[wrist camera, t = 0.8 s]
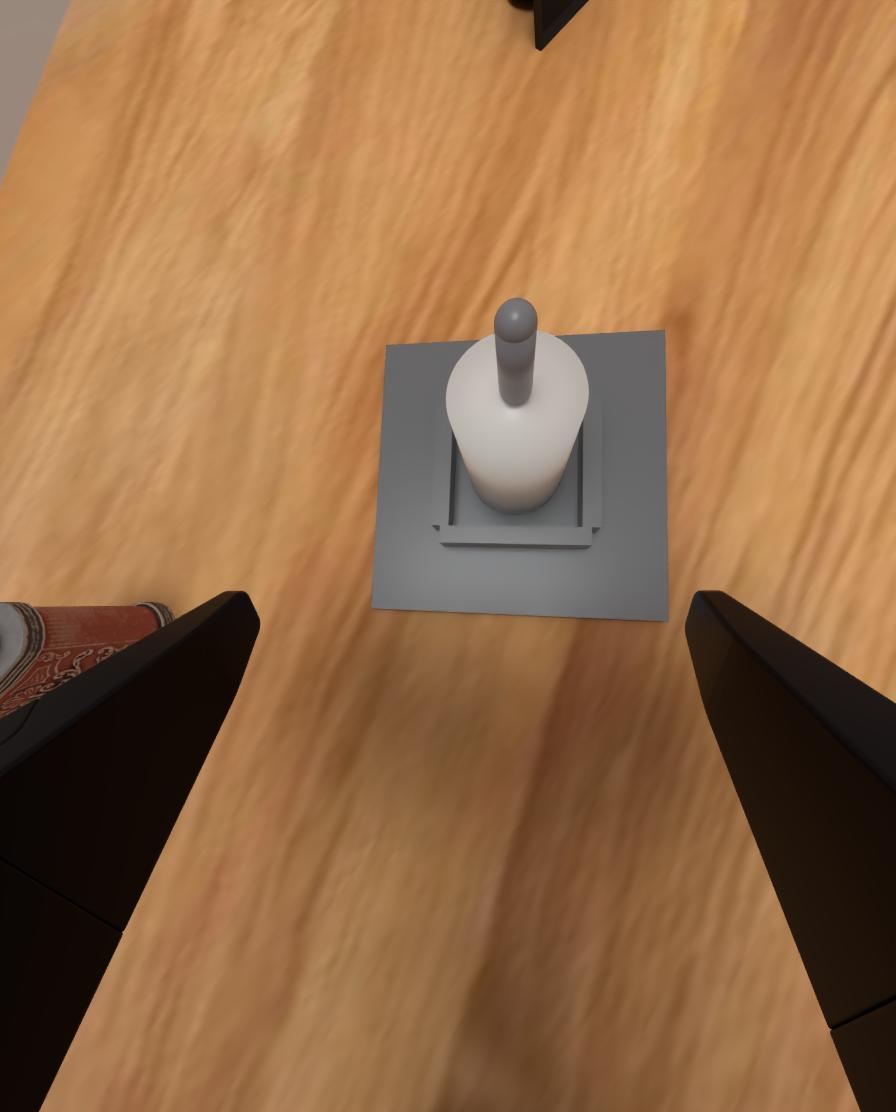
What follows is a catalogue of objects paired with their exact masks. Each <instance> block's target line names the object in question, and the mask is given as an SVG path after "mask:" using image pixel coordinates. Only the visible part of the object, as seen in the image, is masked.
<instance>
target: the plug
mask: <svg viewBox="0 0 896 1112" xmlns="http://www.w3.org/2000/svg"><path fill="white" fill-rule="evenodd" d="M537 323H538V319H537V313H536V311H535V309H534V307H533V305H532V304H531V303H530V302H528V301H527V300H525V299H522V298H513V299H510V300H507V301H506V302H504V303H503V304H502V305H501V306H500V307H499V309H498V311H497V313H496V315H495V319H494V334H491V335H489V336H487V337H485V338H483V339H481V340H480V341H478V342H477V343H475V344H474V345H473V346H472V347H471V348H469V349H468V350H467V351H466V352H465V353H464V355H463V356H462V357H461V358H460V359H459V361H458V362H457V364H456V365H455V367H454V369H453V371H452V373H451V376H450V378H449V381H448V386H447V391H446V408H447V414H448V418H449V421H450V424H451V427H452V429H453V432H454V435H455V438H456V440H457V443H458V446H459V449H460V451H461V454H462V457H463V460H464V463H465V465H466V468H467V471H468V474H469V476H470V479H471V482H472V485H473V487H474V490H475V492H476V494H477V495H478V497H479V498H480V500H481V501H482V502H483V503H484V504H485V505H486V506H488V507H489V508H491V509H492V510H494V511H496V512H499V513H502V514H506V515H524V514H528V513H531V512H534V511H536V510H538V509H539V508H541V507H542V506H544V505H545V504H546V503H547V502H548V501H549V500H550V499H551V498H552V497H553V495H554V494H555V492H556V490H557V488H558V485H559V483H560V480H561V477H562V475H563V472H564V469H565V466H566V464H567V461H568V458H569V456H570V453H571V450H572V447H573V445H574V442H575V439H576V437H577V434H578V431H579V428H580V426H581V423H582V420H583V418H584V415H585V412H586V409H587V404H588V397H589V386H588V379H587V375H586V372H585V369H584V366H583V364H582V363H581V361H580V359H579V357H578V356H577V355H576V353H575V352H574V351H573V350H572V349H571V348H570V347H569V346H568V345H567V344H566V343H564V342H563V341H562V340H561V339H559V338H557V337H555V336H553V335H551V334H549V333H546V332H543V331H540V330H537Z"/></svg>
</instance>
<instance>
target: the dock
mask: <svg viewBox="0 0 896 1112" xmlns="http://www.w3.org/2000/svg"><path fill="white" fill-rule="evenodd" d="M555 337H557V338H559V339H561V340H562V341H563V342H564V343H566V344H567V345H568V346H569V347H570V348H571V349H572V350H573V351H574V352H575V353H576V355H577V356H578V357H579V359H580V361H581V363H582V364H583V366H584V369H585V372H586V375H587V379H588V386H589V397H588V404H587V409H586V412H585V415H584V418H583V420H582V423H581V426H580V428H579V431H578V434H577V437H576V439H575V442H574V445H573V447H572V450H571V453H570V456H569V458H568V461H567V464H566V466H565V469H564V472H563V475H562V477H561V480H560V483H559V485H558V488H557V490H556V492H555V494H554V495H553V497H552V498H551V499H550V500H549V501H548V502H547V503H546V504H545V505H544V506H542V507H541V508H539V509H538V510H536V511H534V512H531V513H528V514H524V515H506V514H502V513H499V512H496V511H494V510H492V509H491V508H489V507H488V506H486V505H485V504H484V503H483V502H482V501H481V500H480V498H479V497H478V495H477V494H476V492H475V490H474V487H473V485H472V482H471V479H470V476H469V474H468V471H467V468H466V465H465V463H464V460H463V457H462V454H461V451H460V449H459V446H458V443H457V440H456V438H455V435H454V432H453V429H452V427H451V424H450V421H449V418H448V414H447V408H446V391H447V386H448V381H449V378H450V376H451V373H452V371H453V369H454V367H455V365H456V364H457V362H458V361H459V359H460V358H461V357H462V356H463V355H464V353H465V352H466V351H467V350H468V349H469V348H471V347H472V346H473V345H474V344H475V343H477V342H478V341H480V340H472V341H453V342H435V343H417V344H398V345H386V360H385V377H384V394H383V411H382V428H381V446H380V463H379V480H378V497H377V514H376V532H375V549H374V566H373V583H372V601H371V608H377V609H399V610H422V611H444V612H467V613H489V614H511V615H534V616H556V617H578V618H601V619H623V620H645V621H668V537H667V452H666V367H665V330H655V331H637V332H619V333H600V334H582V335H564V336H555Z"/></svg>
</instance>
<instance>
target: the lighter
mask: <svg viewBox="0 0 896 1112" xmlns="http://www.w3.org/2000/svg"><path fill="white" fill-rule="evenodd" d="M174 620H175V619H174V616H173V614H172V612H171V611H170V610H169V608H168V607H166V606H165V605H163V604H162V603H156V602H141V603H138V604H135V605H133V606H73V607H32V606H31V605H29V604H27V603H21V602H0V718H2V717H4V716H6V715H8V714H9V713H11V712H13V711H15V710H17V709H18V708H20V707H22V706H24V705H25V704H27V703H29V702H31V701H32V700H34V699H36V698H40V697H41V696H42V695H43V694H45V693H47V692H48V691H50V690H52V689H54V688H56V687H57V686H59V685H61V684H63V683H64V682H66V681H68V680H70V679H71V678H73V677H75V676H77V675H78V674H80V673H82V672H84V671H85V670H87V669H89V668H91V667H93V666H94V665H96V664H98V663H100V662H101V661H103V660H105V659H107V658H108V657H110V656H112V655H114V654H115V653H117V652H119V651H121V650H122V649H124V648H126V647H128V646H130V645H131V644H133V643H135V642H137V641H138V640H140V639H142V638H144V637H145V636H147V635H149V634H151V633H152V632H154V631H156V630H158V629H159V628H161V627H163V626H165V625H167V624H168V623H170V622H172V621H174Z"/></svg>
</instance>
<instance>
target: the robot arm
mask: <svg viewBox="0 0 896 1112" xmlns="http://www.w3.org/2000/svg"><path fill="white" fill-rule="evenodd" d="M259 630H260V619H259V616H258V614H257V612H256V610H255V608H254V605H253V603H252V601H251V599H250V597H249V595H248V594H247V593H246V592H244V591H225V592H223V593H221V594H219V595H218V596H216V597H214V598H212V599H211V600H209V601H207V602H205V603H203V604H202V605H200V606H198V607H196V608H195V609H193V610H191V611H189V612H188V613H186V614H184V615H182V616H181V617H179V618H177V619H175V620H174V621H172V622H170V623H168V624H167V625H165V626H163V627H161V628H159V629H158V630H156V631H154V632H152V633H151V634H149V635H147V636H145V637H144V638H142V639H140V640H138V641H137V642H135V643H133V644H131V645H130V646H128V647H126V648H124V649H122V650H121V651H119V652H117V653H115V654H114V655H112V656H110V657H108V658H107V659H105V660H103V661H101V662H100V663H98V664H96V665H94V666H93V667H91V668H89V669H87V670H85V671H84V672H82V673H80V674H78V675H77V676H75V677H73V678H71V679H70V680H68V681H66V682H64V683H63V684H61V685H59V686H57V687H56V688H54V689H52V690H50V691H48V692H47V693H45V694H43V695H42V696H41V697H40V698H36V699H34V700H32V701H31V702H29V703H27V704H25V705H24V706H22V707H20V708H18V709H17V710H15V711H13V712H11V713H9V714H8V715H6V716H4V717H2V718H0V1112H39V1111H40V1108H41V1106H42V1104H43V1102H44V1100H45V1098H46V1096H47V1094H48V1092H49V1089H50V1087H51V1085H52V1083H53V1081H54V1079H55V1077H56V1075H57V1073H58V1070H59V1068H60V1066H61V1064H62V1062H63V1060H64V1058H65V1056H66V1054H67V1051H68V1049H69V1047H70V1045H71V1043H72V1041H73V1039H74V1037H75V1035H76V1032H77V1030H78V1028H79V1026H80V1024H81V1022H82V1020H83V1018H84V1016H85V1013H86V1011H87V1009H88V1007H89V1005H90V1003H91V1001H92V999H93V997H94V994H95V992H96V990H97V988H98V986H99V984H100V982H101V980H102V978H103V975H104V973H105V971H106V969H107V967H108V965H109V963H110V961H111V959H112V956H113V954H114V952H115V950H116V948H117V946H118V944H119V942H120V940H121V937H122V935H123V933H122V932H123V931H124V930H125V928H126V926H127V924H128V922H129V920H130V918H131V916H132V914H133V911H134V909H135V907H136V905H137V903H138V901H139V899H140V897H141V895H142V892H143V890H144V888H145V886H146V884H147V882H148V880H149V878H150V876H151V873H152V871H153V869H154V867H155V865H156V863H157V861H158V859H159V857H160V855H161V852H162V850H163V848H164V846H165V844H166V842H167V840H168V838H169V836H170V833H171V831H172V829H173V827H174V825H175V823H176V821H177V819H178V817H179V814H180V812H181V810H182V808H183V806H184V804H185V802H186V800H187V798H188V795H189V793H190V791H191V789H192V787H193V785H194V783H195V781H196V779H197V776H198V774H199V772H200V770H201V768H202V766H203V764H204V762H205V760H206V757H207V755H208V753H209V751H210V749H211V747H212V745H213V743H214V741H215V739H216V736H217V734H218V732H219V730H220V728H221V726H222V724H223V722H224V720H225V717H226V715H227V713H228V711H229V709H230V707H231V705H232V703H233V700H234V698H235V696H236V694H237V691H238V689H239V686H240V683H241V681H242V678H243V675H244V672H245V670H246V667H247V664H248V661H249V658H250V655H251V653H252V650H253V647H254V644H255V641H256V639H257V636H258V633H259ZM685 635H686V639H687V643H688V647H689V651H690V655H691V658H692V662H693V666H694V670H695V674H696V678H697V682H698V686H699V690H700V694H701V697H702V701H703V704H704V708H705V711H706V714H707V717H708V719H709V722H710V725H711V727H712V730H713V733H714V735H715V738H716V740H717V743H718V745H719V748H720V751H721V753H722V756H723V758H724V761H725V763H726V766H727V769H728V771H729V774H730V776H731V779H732V781H733V784H734V787H735V789H736V792H737V794H738V797H739V799H740V802H741V805H742V807H743V810H744V812H745V815H746V817H747V820H748V822H749V825H750V828H751V830H752V833H753V835H754V838H755V840H756V843H757V846H758V848H759V851H760V853H761V856H762V858H763V861H764V864H765V866H766V869H767V871H768V874H769V876H770V879H771V882H772V884H773V887H774V889H775V892H776V894H777V897H778V900H779V902H780V905H781V907H782V910H783V912H784V915H785V918H786V920H787V923H788V925H789V928H790V930H791V933H792V935H793V938H794V941H795V943H796V946H797V948H798V951H799V953H800V956H801V959H802V961H803V964H804V966H805V969H806V971H807V974H808V977H809V979H810V982H811V984H812V987H813V989H814V992H815V995H816V997H817V1000H818V1002H819V1005H820V1007H821V1010H822V1013H823V1015H824V1018H825V1020H826V1023H827V1025H828V1027H829V1028H830V1029H832V1030H831V1031H830V1034H831V1037H832V1039H833V1042H834V1044H835V1047H836V1050H837V1052H838V1055H839V1057H840V1060H841V1062H842V1065H843V1068H844V1070H845V1073H846V1075H847V1078H848V1080H849V1083H850V1086H851V1088H852V1091H853V1093H854V1096H855V1098H856V1101H857V1104H858V1106H859V1109H860V1111H861V1112H896V703H894V702H893V701H891V700H890V699H888V698H887V697H885V696H883V695H882V694H880V693H879V692H877V691H876V690H874V689H873V688H871V687H870V686H868V685H866V684H865V683H863V682H862V681H860V680H859V679H857V678H856V677H854V676H853V675H851V674H850V673H848V672H846V671H845V670H843V669H842V668H840V667H839V666H837V665H836V664H834V663H833V662H831V661H829V660H828V659H826V658H825V657H823V656H822V655H820V654H819V653H817V652H816V651H814V650H812V649H811V648H809V647H808V646H806V645H805V644H803V643H802V642H800V641H799V640H797V639H795V638H794V637H792V636H791V635H789V634H788V633H786V632H785V631H783V630H782V629H780V628H779V627H777V626H775V625H774V624H772V623H771V622H769V621H768V620H766V619H765V618H763V617H762V616H760V615H758V614H757V613H755V612H754V611H752V610H751V609H749V608H748V607H746V606H745V605H743V604H741V603H740V602H738V601H737V600H735V599H734V598H732V597H731V596H729V595H728V594H726V593H724V592H722V591H718V590H701V591H698V592H696V593H695V594H694V596H693V599H692V602H691V606H690V609H689V613H688V616H687V619H686V623H685Z"/></svg>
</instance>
